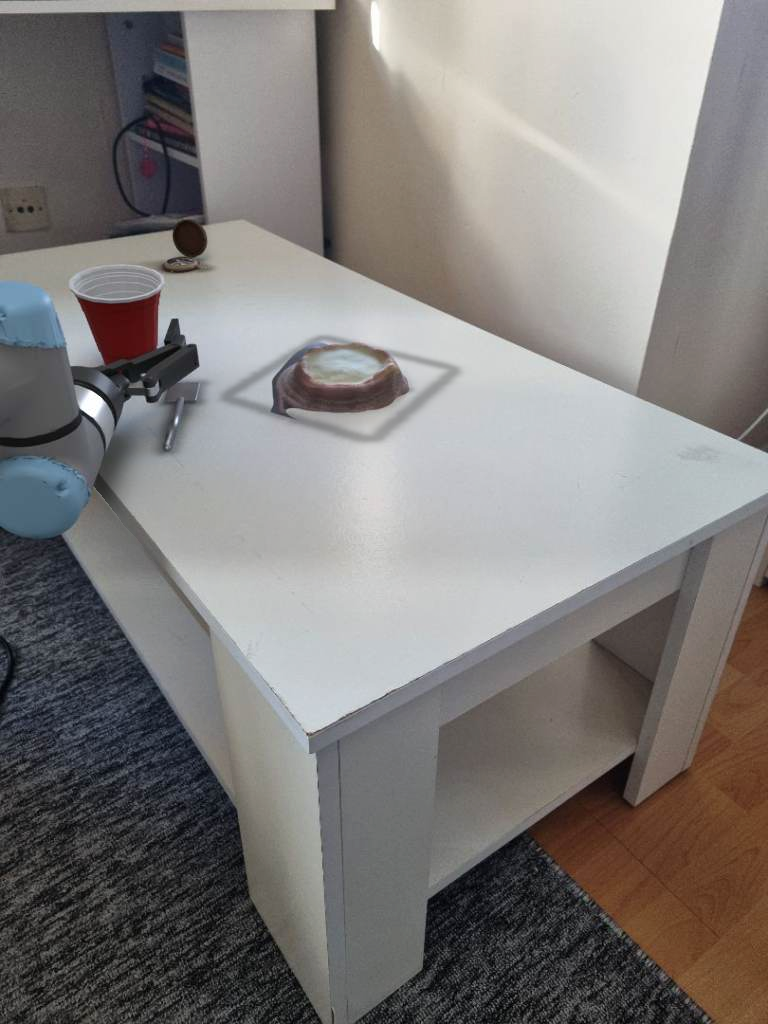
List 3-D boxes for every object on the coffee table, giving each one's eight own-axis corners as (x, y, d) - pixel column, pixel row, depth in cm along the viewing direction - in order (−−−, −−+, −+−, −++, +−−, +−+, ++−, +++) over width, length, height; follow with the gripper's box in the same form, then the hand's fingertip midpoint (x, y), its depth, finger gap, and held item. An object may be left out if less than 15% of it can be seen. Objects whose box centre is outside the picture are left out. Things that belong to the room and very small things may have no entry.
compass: (155, 273, 132) (148, 228, 127) (179, 259, 138) (173, 215, 134) (199, 278, 130) (193, 232, 125) (221, 264, 136) (216, 219, 132)
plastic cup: (124, 399, 95) (105, 301, 88) (71, 374, 100) (49, 280, 93) (196, 369, 102) (183, 275, 95) (142, 347, 107) (126, 257, 100)
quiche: (321, 340, 109) (320, 312, 107) (456, 373, 101) (458, 343, 99) (223, 401, 94) (219, 370, 92) (371, 445, 86) (370, 412, 84)
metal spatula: (149, 456, 84) (148, 448, 84) (171, 388, 97) (169, 381, 96) (184, 455, 84) (183, 447, 84) (201, 387, 97) (200, 380, 97)
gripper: (-50, 456, 77) (15, 364, 95) (212, 446, 79) (229, 357, 96) (-75, 386, 73) (-2, 302, 90) (202, 377, 75) (222, 296, 92)
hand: (117, 331), depth 93 cm, fingers open, 13 cm apart
